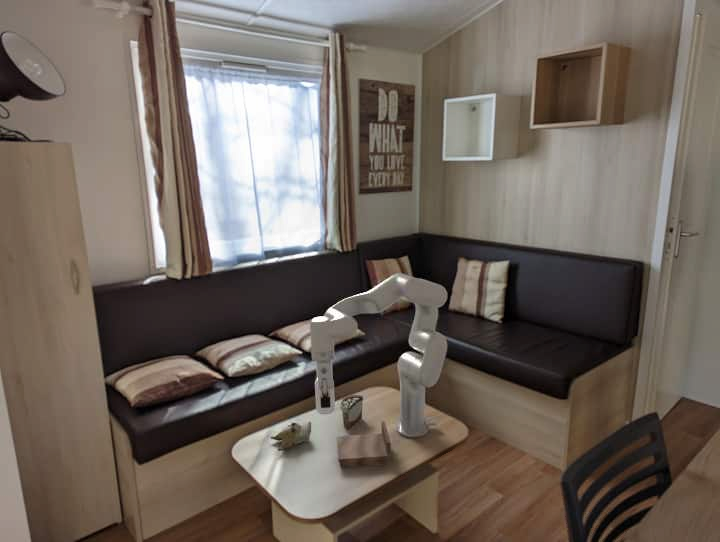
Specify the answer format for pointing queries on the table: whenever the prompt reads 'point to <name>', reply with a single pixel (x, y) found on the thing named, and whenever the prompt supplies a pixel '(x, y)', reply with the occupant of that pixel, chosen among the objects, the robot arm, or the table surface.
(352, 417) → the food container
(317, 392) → the can
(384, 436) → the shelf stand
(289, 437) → the ceramic sculpture
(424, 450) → the table surface
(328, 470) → the table surface
